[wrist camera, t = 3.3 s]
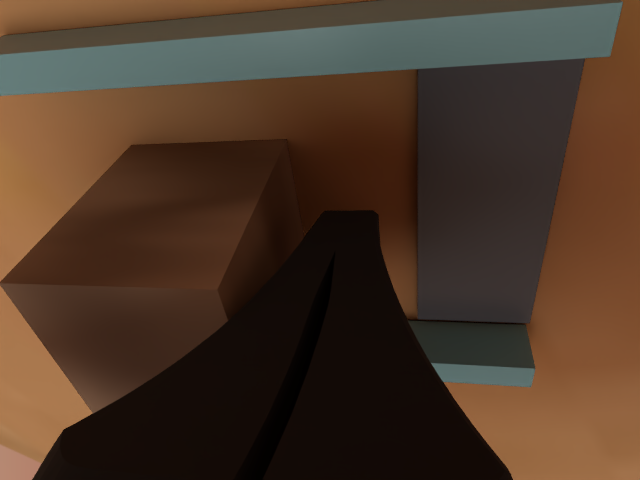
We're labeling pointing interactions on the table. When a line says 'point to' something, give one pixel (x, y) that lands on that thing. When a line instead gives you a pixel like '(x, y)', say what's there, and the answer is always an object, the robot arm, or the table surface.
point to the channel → (433, 129)
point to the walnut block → (157, 259)
